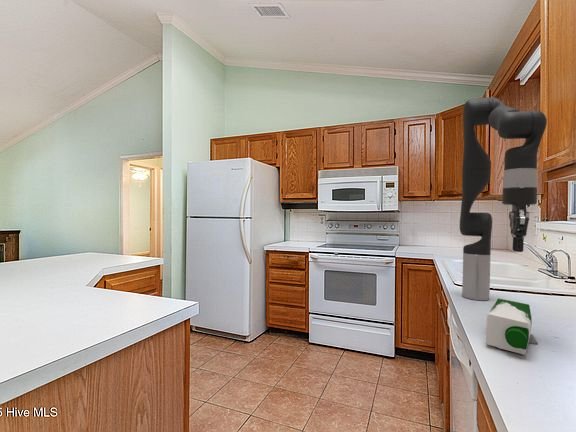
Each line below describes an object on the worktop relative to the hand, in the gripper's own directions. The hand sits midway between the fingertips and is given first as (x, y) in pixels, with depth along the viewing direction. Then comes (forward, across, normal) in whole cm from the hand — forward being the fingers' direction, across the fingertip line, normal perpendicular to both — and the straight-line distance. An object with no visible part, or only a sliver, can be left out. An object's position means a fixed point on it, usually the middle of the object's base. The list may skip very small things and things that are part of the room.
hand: (517, 251), depth 86 cm
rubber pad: (+22, +2, +1) cm, 23 cm away
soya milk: (+18, -3, 0) cm, 18 cm away
